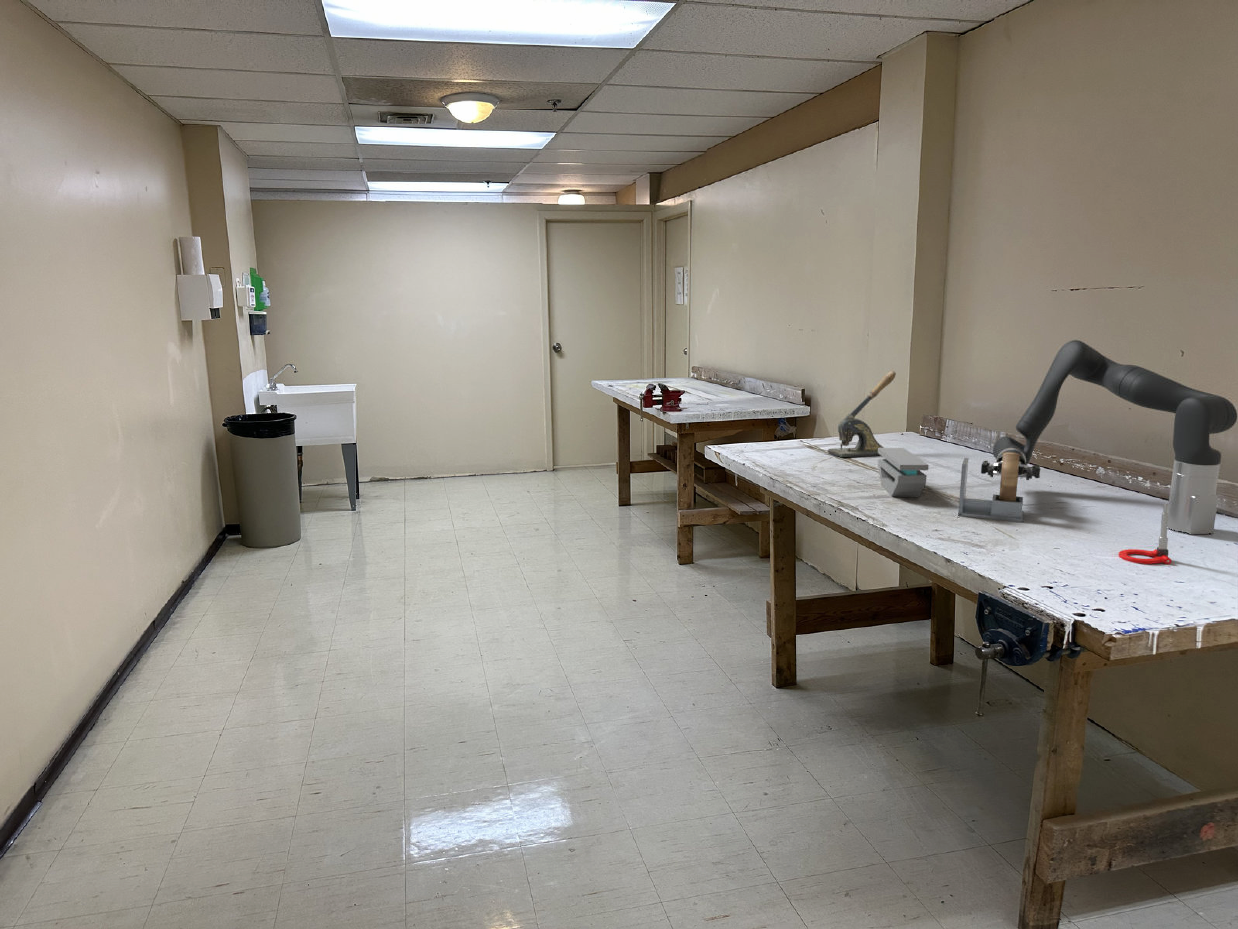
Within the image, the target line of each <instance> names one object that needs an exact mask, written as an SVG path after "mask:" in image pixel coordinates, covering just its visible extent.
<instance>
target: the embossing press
mask: <svg viewBox="0 0 1238 929" xmlns="http://www.w3.org/2000/svg"><path fill="white" fill-rule="evenodd" d="M896 374H897V373H896V371H894V370H891V371H890V372H888V373H886V374H885V375H884V376H883V377H882V378H881V379H880V381H879V382H878V384H877V385H876V386H875V387H873V389H871V390H870V391H869V393H868V394H867V395H866V397H865V398H864V399H863V400H862V401H861V402H860V403H859V404H858V405H857V406H856V407H855V408H854V409H852V411H851V412H849V414H847V415H846V416H845V417H844V418H843V419H842V420H841V421H840V422H839V423H838V426H837V430H838V431H837V432H838V435H839V441H841V443H840V444H839V445H840V448H839V447H838V448H828V450H827V452H826V453H827V454H831V455H833V456H836V457H840V458H849V457H850V458H851V457H874V456H875V457H876V456H881V455H880V454H879V453H878V448H885V446H882V445H881V444H880V443H879V442H878V441H877V439H876V438H875V436H874V433H873V431H872V429H871V428H870V426H869V425H868V424H867V422H864V421H863V420H861V419H858V418H856V416H857V415H858V414H859V413H860V412H861V411H862V410H863V408H865V406H866V405H868V403H870V401H872V400H873V399H874V398H877V396H878V395H879V394H880V393H881V392H882V390H884V389H885V388H886V387H887V386H889V385H890V384H891V383H892V382H893V381H894V379H895V377H896ZM855 435H856V436H858V440H857V443H856V444H855V447H849V444H850V443H851V442H853V438H854V437H855ZM843 446H844V447H843Z"/></svg>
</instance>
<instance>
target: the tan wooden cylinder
mask: <svg viewBox="0 0 1238 929" xmlns="http://www.w3.org/2000/svg"><path fill="white" fill-rule="evenodd" d="M1019 458H1020V454H1018V453H1003V458H1002V470H1001V475H1000V482H999V483H1000V484H999V485H1000V486H999V493H998V495H999V500H1000V501H1011V502H1016V496H1017V492H1018V480H1019V477H1018V469H1019Z"/></svg>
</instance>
